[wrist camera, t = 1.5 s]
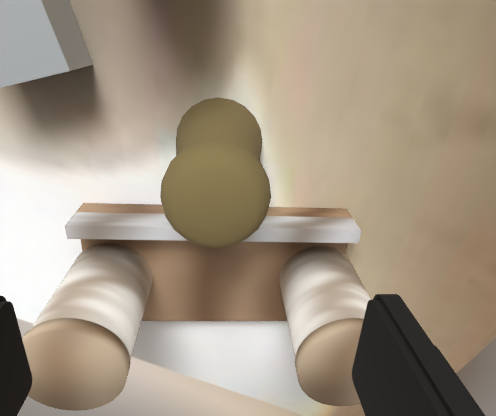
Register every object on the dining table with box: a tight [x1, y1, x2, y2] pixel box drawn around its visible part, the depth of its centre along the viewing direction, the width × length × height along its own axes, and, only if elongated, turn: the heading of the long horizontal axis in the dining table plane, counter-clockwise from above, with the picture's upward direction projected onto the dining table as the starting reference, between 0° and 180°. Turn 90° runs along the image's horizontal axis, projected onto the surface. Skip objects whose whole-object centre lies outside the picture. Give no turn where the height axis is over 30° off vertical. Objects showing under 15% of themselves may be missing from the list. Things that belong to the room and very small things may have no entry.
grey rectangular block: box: [0, 0, 93, 88], centre depth 21 cm, size 5×4×4 cm
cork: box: [161, 98, 271, 248], centre depth 21 cm, size 6×6×11 cm
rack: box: [22, 203, 371, 410], centre depth 26 cm, size 22×10×10 cm, turn 87°
